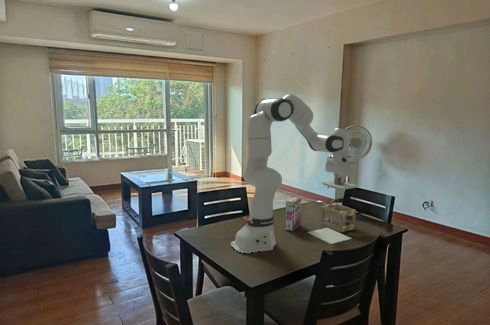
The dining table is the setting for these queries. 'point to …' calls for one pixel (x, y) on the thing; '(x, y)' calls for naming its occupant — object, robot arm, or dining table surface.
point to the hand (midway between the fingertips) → (339, 182)
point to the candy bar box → (293, 214)
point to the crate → (335, 212)
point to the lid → (339, 184)
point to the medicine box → (336, 220)
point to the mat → (329, 235)
